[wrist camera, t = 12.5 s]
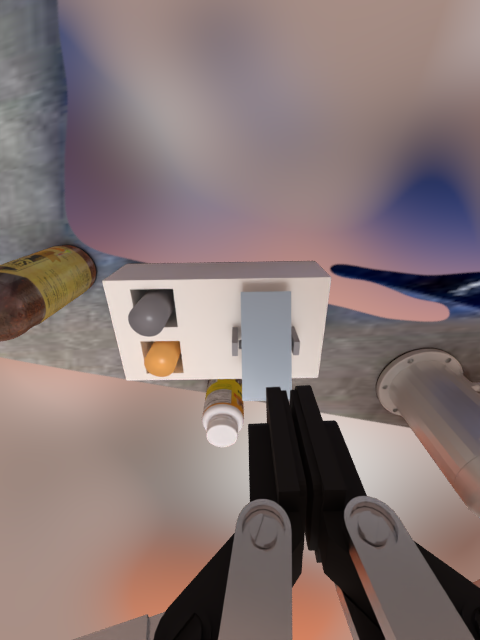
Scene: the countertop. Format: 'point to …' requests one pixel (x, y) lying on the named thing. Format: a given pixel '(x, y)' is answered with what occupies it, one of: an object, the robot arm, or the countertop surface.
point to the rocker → (265, 343)
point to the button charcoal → (152, 312)
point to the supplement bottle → (223, 411)
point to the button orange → (162, 358)
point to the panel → (217, 314)
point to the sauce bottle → (41, 287)
